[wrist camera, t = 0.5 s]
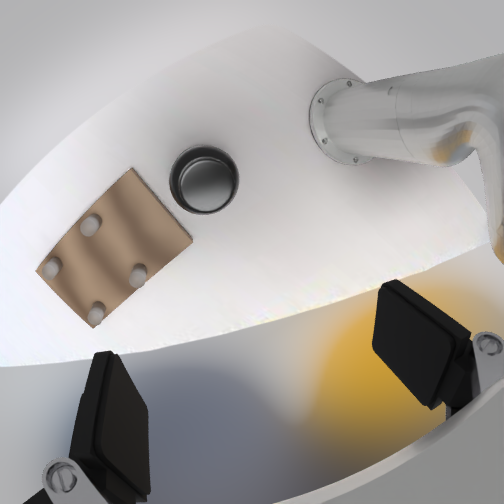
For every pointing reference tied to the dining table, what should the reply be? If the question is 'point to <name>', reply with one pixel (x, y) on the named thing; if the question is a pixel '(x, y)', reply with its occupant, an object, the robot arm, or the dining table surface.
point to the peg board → (113, 249)
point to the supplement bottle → (204, 180)
